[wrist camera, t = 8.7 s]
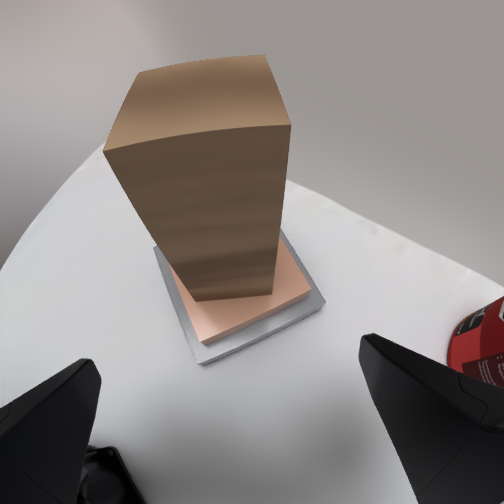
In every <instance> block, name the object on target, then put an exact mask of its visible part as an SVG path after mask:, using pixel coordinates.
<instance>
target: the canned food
mask: <svg viewBox="0 0 504 504" xmlns="http://www.w3.org/2000/svg"><path fill="white" fill-rule="evenodd" d="M448 367H450V368H452V369H454V370H456V371H457V372H458V371H459V372H461V373H464V374H466V375H468V376H471V377H473V378H476V379H478V380H481V381H484V382H487V383H490V384H493V385H496V386H499V387H503V388H504V296H503V297H501V298H500V299H498V300H496V301H494V302H493V303H491V304H489V305H487V306H485V307H484V308H482V309H480V310H478V311H476V312H474V313H472V314H470V315H469V316H467V317H466V318H465V319H464V320H463V321H462V322H461V323H460V324H459V325H458V327H457V328H456V329H455V331H454V333H453V335H452V338H451V340H450V345H449V350H448Z"/></svg>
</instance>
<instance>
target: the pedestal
mask: <svg viewBox="0 0 504 504" xmlns="http://www.w3.org/2000/svg"><path fill="white" fill-rule="evenodd" d="M153 249H154V252H155V255H156V258H157V261H158V264H159V267H160V270H161V273H162V276H163V278H164V281H165V284H166V287H167V290H168V292H169V295H170V298H171V301H172V303H173V306H174V309H175V311H176V314H177V316H178V319H179V321H180V324H181V326H182V329H183V331H184V334H185V336H186V339H187V341H188V343H189V346H190V348H191V350H192V353H193V355H194V357H195V360H196V362H197V364H198V365H201V366H204V365H206V364H209V363H211V362H213V361H216V360H218V359H220V358H223V357H225V356H227V355H229V354H232V353H234V352H236V351H238V350H240V349H243V348H245V347H247V346H249V345H251V344H253V343H255V342H258V341H260V340H262V339H264V338H266V337H268V336H270V335H272V334H274V333H276V332H278V331H280V330H282V329H284V328H286V327H288V326H290V325H292V324H294V323H296V322H298V321H300V320H302V319H303V318H305V317H307V316H309V315H311V314H313V313H315V312H317V311H318V310H320V309H321V308H322V307H323V306H324V304H325V303H326V301H325V300H324V298H323V296H322V295H321V293H320V291H319V290H318V288H317V286H316V285H315V283H314V281H313V280H312V278H311V276H310V275H309V273H308V271H307V270H306V268H305V267H304V265H303V263H302V262H301V260H300V258H299V257H298V255H297V254H296V252H295V250H294V249H293V247H292V246H291V244H290V242H289V241H288V239H287V238H286V236H285V234H284V233H283V231H282V230H281V228H280V235H279V243H278V251H277V259H276V267H275V274H274V282H273V290H272V295H265V296H255V297H245V298H235V299H224V300H212V301H200V302H195V300H194V299H193V298H192V296H191V295H190V293H189V292H188V290H187V289H186V288H185V286H184V285H183V283H182V282H181V280H180V279H179V277H178V276H177V274H176V273H175V271H174V270H173V268H172V267H171V265H170V264H169V262H168V261H167V259H166V258H165V256H164V255H163V253H162V252H161V250H160V249H159V247H158V246H155V247H153Z"/></svg>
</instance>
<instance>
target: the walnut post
mask: <svg viewBox="0 0 504 504" xmlns="http://www.w3.org/2000/svg"><path fill="white" fill-rule="evenodd" d="M290 133H291V123H290V120H289V117H288V114H287V111H286V109H285V106H284V103H283V100H282V98H281V95H280V93H279V90H278V87H277V85H276V82H275V80H274V77H273V75H272V72H271V69H270V67H269V65H268V62H267V60H266V57H265V55H253V56H236V57H225V58H216V59H207V60H200V61H193V62H188V63H181V64H176V65H170V66H166V67H161V68H157V69H152V70H147V71H143V72H140V73H138V75H137V77H136V79H135V81H134V82H133V84H132V86H131V88H130V90H129V92H128V94H127V96H126V98H125V100H124V102H123V104H122V107H121V109H120V111H119V113H118V115H117V118H116V120H115V122H114V124H113V127H112V129H111V132H110V134H109V136H108V139H107V141H106V144H105V146H104V149H103V153H104V155H105V157H106V159H107V161H108V163H109V164H110V166H111V168H112V170H113V172H114V173H115V175H116V177H117V179H118V181H119V182H120V184H121V186H122V188H123V189H124V191H125V193H126V195H127V196H128V198H129V200H130V202H131V203H132V205H133V207H134V208H135V210H136V212H137V213H138V215H139V217H140V218H141V220H142V222H143V223H144V225H145V226H146V228H147V230H148V231H149V233H150V234H151V236H152V238H153V239H154V241H155V242H156V244H157V246H158V247H159V249H160V250H161V252H162V253H163V255H164V256H165V258H166V259H167V261H168V262H169V264H170V265H171V267H172V268H173V270H174V271H175V273H176V274H177V276H178V277H179V279H180V280H181V282H182V283H183V285H184V286H185V288H186V289H187V290H188V292H189V293H190V295H191V296H192V298H193V299H194V300H195V302H200V301H212V300H224V299H235V298H245V297H255V296H265V295H272V290H273V282H274V274H275V267H276V259H277V251H278V243H279V235H280V226H281V218H282V209H283V200H284V191H285V182H286V172H287V163H288V152H289V142H290Z"/></svg>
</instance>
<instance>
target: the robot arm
mask: <svg viewBox="0 0 504 504" xmlns="http://www.w3.org/2000/svg"><path fill="white" fill-rule="evenodd" d="M359 362H360V365H361V368H362V371H363V374H364V377H365V380H366V382H367V385H368V388H369V391H370V394H371V397H372V399H373V402H374V404H375V406H376V408H377V410H378V412H379V414H380V417H381V419H382V421H383V423H384V425H385V427H386V429H387V432H388V434H389V436H390V438H391V440H392V443H393V445H394V447H395V449H396V451H397V454H398V456H399V458H400V460H401V463H402V465H403V467H404V470H405V472H406V474H407V477H408V479H409V481H410V484H411V486H412V489H413V491H414V493H415V496H417V497H416V499H417V501H418V504H504V388H503V387H499V386H496V385H493V384H490V383H487V382H484V381H481V380H478V379H476V378H473V377H471V376H468V375H466V374H464V373H461V372H459V371H458V372H457V371H456V370H454V369H452V368H450V367H448V366H445V365H443V364H441V363H439V362H436V361H434V360H432V359H430V358H427V357H425V356H423V355H421V354H418V353H416V352H414V351H412V350H410V349H407V348H405V347H403V346H401V345H399V344H396V343H394V342H392V341H390V340H388V339H386V338H383V337H381V336H379V335H377V334H375V333H371V334H367V335H363V336H362V338H361V342H360V349H359ZM100 388H101V376H100V374H99V372H98V370H97V368H96V366H95V364H94V362H93V361H92V360H91V359H86V358H82V359H79V360H78V361H76V362H74V363H73V364H71V365H70V366H68V367H66V368H65V369H63V370H62V371H60V372H58V373H57V374H55V375H54V376H52V377H50V378H49V379H47V380H45V381H44V382H42V383H41V384H39V385H37V386H36V387H34V388H33V389H31V390H29V391H28V392H26V393H25V394H23V395H21V396H20V397H18V398H16V399H15V400H13V401H12V402H10V403H8V404H7V405H5V406H3V407H2V408H0V504H146V503H145V501H144V500H143V498H142V496H141V495H140V493H139V491H138V490H137V488H136V486H135V484H134V483H133V481H132V479H131V477H130V475H129V473H128V472H127V470H126V468H125V466H124V464H123V462H122V460H121V458H120V456H119V454H118V451H117V450H116V448H114V447H112V446H109V447H104V448H99V449H94V448H93V446H91V445H88V442H89V438H90V435H91V431H92V427H93V423H94V419H95V415H96V409H97V404H98V398H99V393H100ZM110 450H111V451H112V452H113V454H111V453H110Z"/></svg>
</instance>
